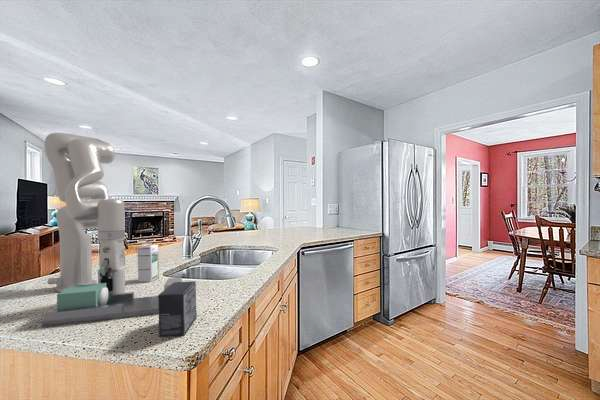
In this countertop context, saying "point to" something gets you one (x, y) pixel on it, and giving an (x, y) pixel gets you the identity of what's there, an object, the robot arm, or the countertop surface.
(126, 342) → the countertop surface
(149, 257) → the syrup box
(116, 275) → the can
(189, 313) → the small box
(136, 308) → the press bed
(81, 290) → the block
